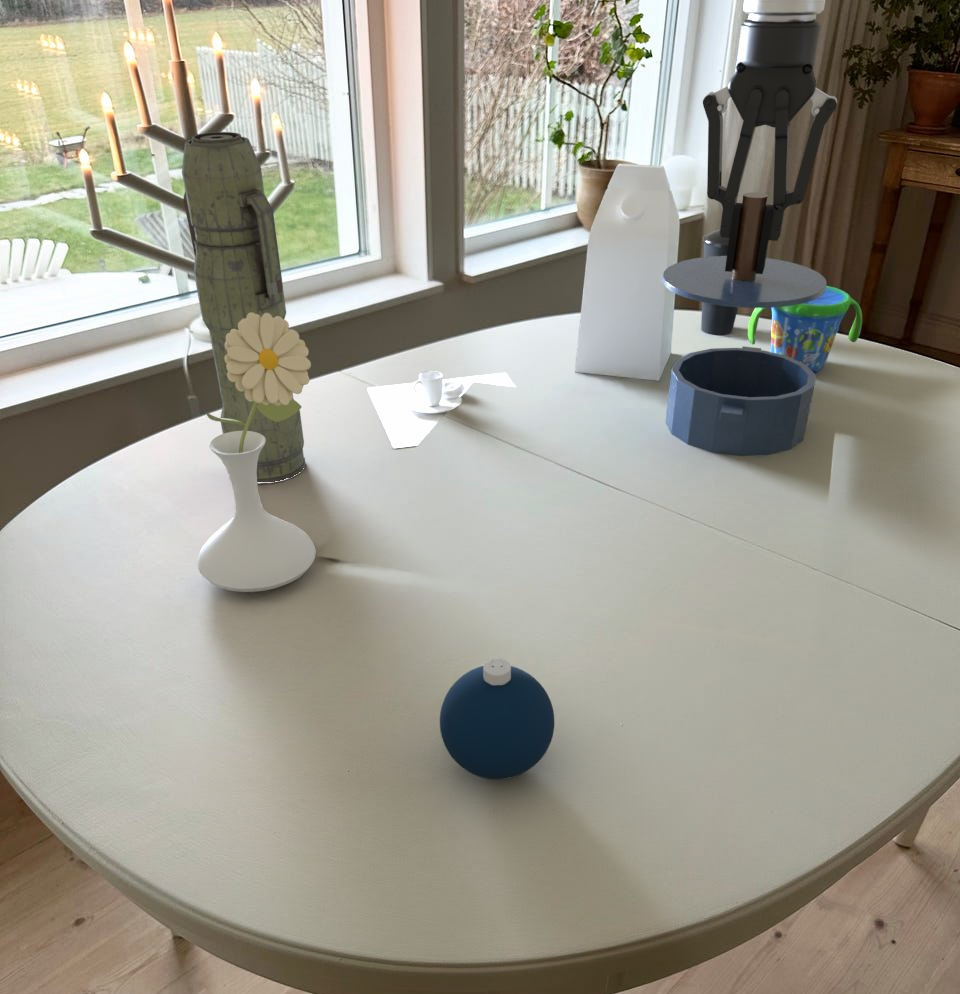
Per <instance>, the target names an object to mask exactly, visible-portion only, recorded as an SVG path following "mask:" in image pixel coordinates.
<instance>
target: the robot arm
mask: <svg viewBox="0 0 960 994" xmlns="http://www.w3.org/2000/svg"><path fill="white" fill-rule="evenodd" d="M825 5H826V0H743V7H742V11H743V12H744V13H745V14H747V15H748V16H747V18H746V19H745V20H743V22H742V23H741V24H740V30H739V39H738V40H739V41H738V46H737V54H736V64H735V68H734V72H733V74H732V76H731V77H730V79H729V82H728V84H727V85H726V86H725V87H723V88H721V89H719V90H717V91H715V92H714V91H710V92H709V93H707V94H706V95H705V96H704V97H703V100H702V106H703V109H704V113H705V115H706V119H707V123H708V127H707V177H706V179H707V180H706V181H707V183H706V185H707V186H706V195H707V197H708V199H710V200H715V201H717V202H718V203H720V204H721V206H722V212H721V219H720V227H719V229H720V235H721V237H726V238H729V245H728V252H727V259H726V267H725V271H727V272H732V270H733V265H734V257H735V250H736V243H737V236H738V229H739V222H740V215H741V208H742V202H737V203H736V200H737V201H738V198H739V197H738V196H739V192H740V188H741V184H742V180H743V177H744V174H745V169H746V166H747V161H748V157H749V154H750V150H751V146H752V142H753V138H754V135H755V131H756V128H758V127H762V126H767V127H771V128H774V163H773V164H774V166H773V191H772V192H773V195H772V196H773V197H772V204H767V207H766V209H765V215H764V221H763V228H762V234H761V241H760V247H759V254H758V260H757V267H756V273H755V274H763V271H764V268H765V262H766V258H767V255H768V248H769V242H770V241H775V242H777V241H779V239H780V237H781V235H782V234H781V233H782V230H783V229H782V228H783V223H784V216H785V211H786V209H787V208H788V207H791V206H794V205H800V204H801V203H802V202H803V201H804V199H805V197H806V192H807V189H808V186H809V182H810V178H811V175H812V171H813V168H814V164H815V160H816V157H817V153H818V150H819V146H820V143H821V140H822V135H823V133H824V128H825V126H826V124H827V123H828V121H829V120H830V118H831V116H832V115H833V113H834V112H835V110H836V108H837V106H838V98H837V96H836V95H829V94H827V93H826V92H824V91H823V90H821V89H819V88H818V87H817V79H816V77H815V63H816V59H817V52H818V47H819V40H820V34H821V30H822V29H821V28H822V24H821V23H820V20H819V19H817V15H819V14H822V12H823V11H824V10H825ZM730 98H731V100H732V102H733V104H734V106H735V108H736V110H737V111H738V114H739V116H740V118H741V120H742V125H741V128H740V133H739V137H738V142H737V146H736V150H735V153H734V158H733V161H732V165H731V168H730V169H731V170H730V174H729V177H728V181H727V185H726V187H725V186H723V185H722V184H723V183H722V180H723V145H724V144H723V142H724V140H723V139H724V137H723V136H724V115H723V114H724V113H725V112H726V111H727V109H728V101H729V99H730ZM809 100H810V101H811V104H812V105H811V109H810V115H811V116H812V117H814V119H813V120H812V123H811V127H810V129H809V134H808V138H807V142H806V144H805V148H804V152H803V156H802V159H801V163H800V167H799V171H798V174H797V178H796V181H795V185H794V189H791V190H788V173H789V149H790V148H789V147H790V130H791V129H790V128H791V122H792V120H793V119H794V118H795V117H796V116H797V114H798V113H800V111H801V110H802V109H803V108H804V106H805V105H806V104H807V103H808V102H809Z"/></svg>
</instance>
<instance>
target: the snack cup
mask: <svg viewBox="0 0 960 994" xmlns="http://www.w3.org/2000/svg"><path fill="white" fill-rule="evenodd" d="M850 306H852V307H853V308H854V309H855V318H854V320H853V321H852V326H851V328H850V330H849V332H848V340H849V341H850V343H856V342H857V341H858V339H859V337H860V334H861V331H862V326H863V313H862V308H861V306H860V304H859V303H858V302H857V301H856V300H855V299H853V298H852V297H851V296H850V294H849V293H848V292H846V291H844V290H842V289H840V288H837V287H834V286H830V285H826V289H825V292H824V293H823V294H822V295H821V296H820V297H818V298H816V299H814V300H812V301H809V302H806V303H802V304H797V305H791V306H784V307H771V308H770V309H771V315H772V316H771V332H770V337H771V339H770V352H772V353H776V354H780V355H785V356H788V357H791V358H793V359H795V360H797V361H799V362H801V363H803V364H805V365H807V366H808V367H809V368H810V369H811V370H812V371H813V372H816V373H817V372H820V370H821V369H822V368H823V367H825V364H826V363H827V361H828V358H829V355H830V353H831V350H832V347H833V346H834V345H833V344H834V342H835V340H836V336H837V333H838V331H839V328H840V325H841V323H842V321H843V318H844V317H845V315H846V313H847V311H849V308H850ZM753 309H754V310H753V311H752V314H751V315H750V319H749V321H748V326H747V337H748V341H749V343H750V344H751V345H755V344H756V333H757V329H758V324H759V319H760V315H761V313H762V312H764V310H766V309H767V308H753Z"/></svg>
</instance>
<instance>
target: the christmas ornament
mask: <svg viewBox="0 0 960 994" xmlns="http://www.w3.org/2000/svg"><path fill="white" fill-rule="evenodd" d="M439 729H440V736H441V739H442V742H443V745H444V747H445V749H446V750H447V753H448V754H449V755H450V757H451V758H452V760H454V761H455V763H457V765H458V766H460V767H461V768H462V769H464V770H465V771H467V772H469V774H472V775H475V776H477V777H480V778H484V779H488V780H506V779H512V778H515V777H518V776H520V775H522V774H524V773H526V772H528V771H529V770H531V769H533V767H534V766H536V765H537V764H538V763H539V762H540V761H541V760H542V758H543V757H544V756H545V754H546V753H547V751H548V749H549V747H550V745H551V743H552V740H553V737H554V732H555V712H554V706H553V705H552V701H551V698H550V697H549V694H548V693H547V691H546V689H545V688H544V687H543V685H542V684H541V683H540V682H539V681H538V680H537V679H536V678H535V677H534V676H533V675H531V674H530V673H529V672H527V671H525V670H523V669H521V668H518V667H516V666H513V665H511V663H510V662H509V661H507V660H506V659H503V658H491V659H488V660H487V661H486V662H484V664H483V665H482V666H478V667H475V668H473V669H471V670H469V671H467V672H465V673H464V674H463V675H461V676H460V677H459V678H458V679H456V681H454V683H453V684H452V686H450V688H449V690H447V693H446V695H445V697H444V699H443V701H442V704H441V709H440V713H439Z"/></svg>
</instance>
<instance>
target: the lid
mask: <svg viewBox="0 0 960 994" xmlns="http://www.w3.org/2000/svg"><path fill="white" fill-rule="evenodd" d="M768 201H769V194H766V193H763V192H746V193H744V194H743V195H742V200H741V203H742V208H741V215H740V222H739V229H738V236H737V243H736V250H735V257H734V265H733V270H732V272H727V271H725V267H726V259H727V256H711V257H704V256H703V257H694V258H690V259H685V260H682V261H679V262H678V261H677V263H676V264H673V265H671V266H670V267H668V268H667V269H666V270H665V271H664V273H663V284H664V285H665V286H666V287H667V288H668V289H669V290H670V291H672V292H674V293H675V295H678V296H680V297H683V298H686V299H688V300H692V301H697V302H700V303H702V302H704V303H709V304H715V305H721V306H730V307H738V308H745V309H755V308H766V309H768V308H770V309H771V307H784V306H791V305H797V304H802V303H806V302H809V301H812V300H814V299H816V298H818V297H820V296H821V295H822V294H823V293H824V292H825V289H826V286H828V285H827V279H826V278H825V277H824V276H823V274H821V273H820V272H818V271H817V270H814V269H812V268H810V267H807V266H805V265H802V264H799V263H795V262H792V261H791V262H790V261H786V260H783V259H776V258H775V259H774V258H769V257H766V262H765V268H764V271H763V274H755V273H756V267H757V260H758V254H759V247H760V241H761V234H762V228H763V221H764V215H765V209H766V207H767V205H768Z"/></svg>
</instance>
